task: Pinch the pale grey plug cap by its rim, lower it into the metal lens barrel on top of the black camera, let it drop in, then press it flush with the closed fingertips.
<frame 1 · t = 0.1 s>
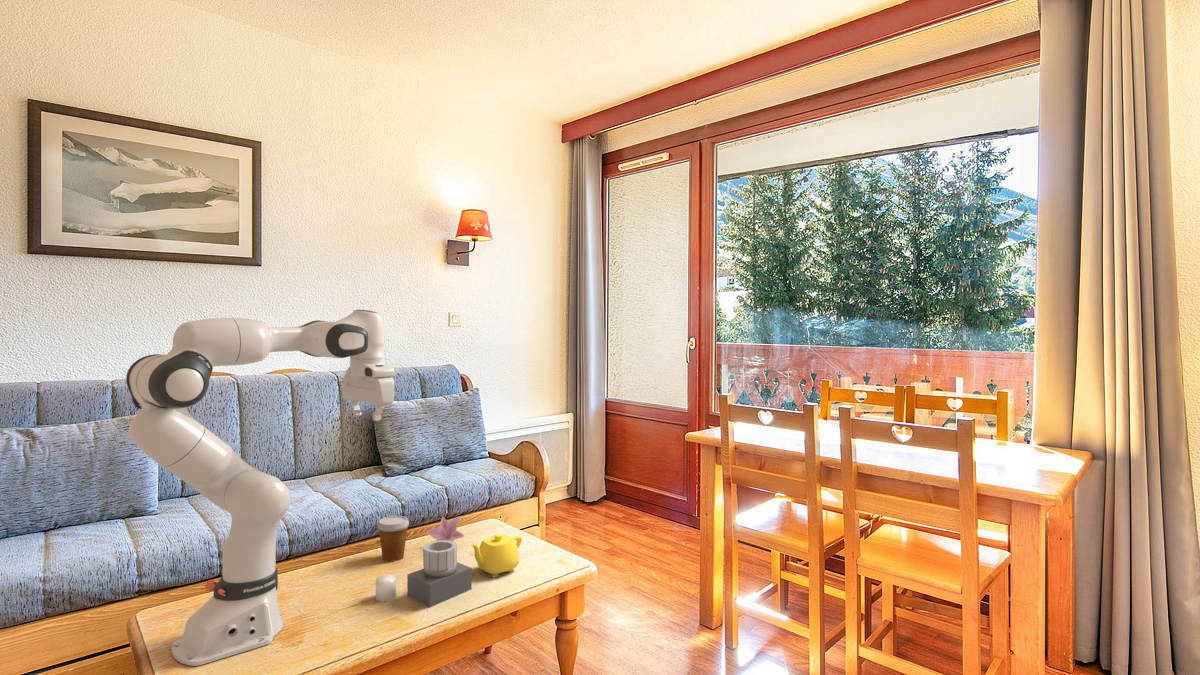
hand: (367, 418, 169), 48 cm above the table, tool pointing down, fingers open, 8 cm apart
teapot: (496, 571, 184), on the table
cap: (385, 597, 166), on the table
disposable coffee cup: (393, 558, 192), on the table
lily: (446, 548, 201), on the table
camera: (439, 592, 169), on the table
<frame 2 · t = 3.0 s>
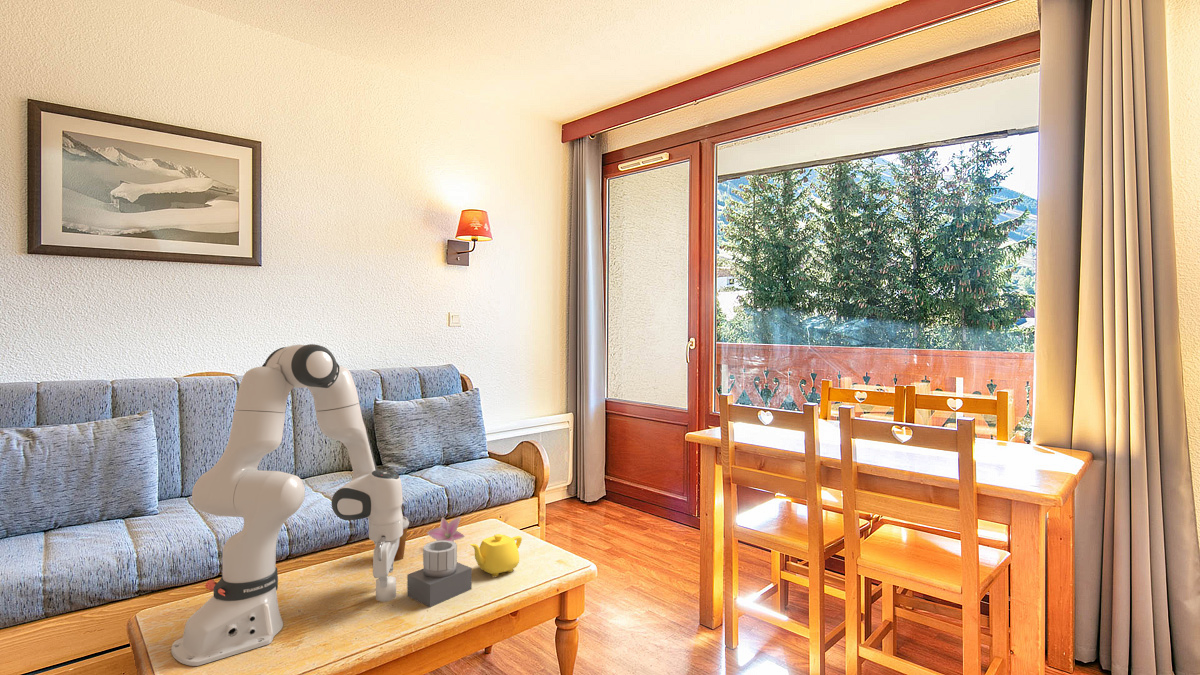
hand: (386, 578, 167), 4 cm above the table, tool pointing down, fingers open, 8 cm apart
cap: (385, 598, 166), on the table, touching gripper
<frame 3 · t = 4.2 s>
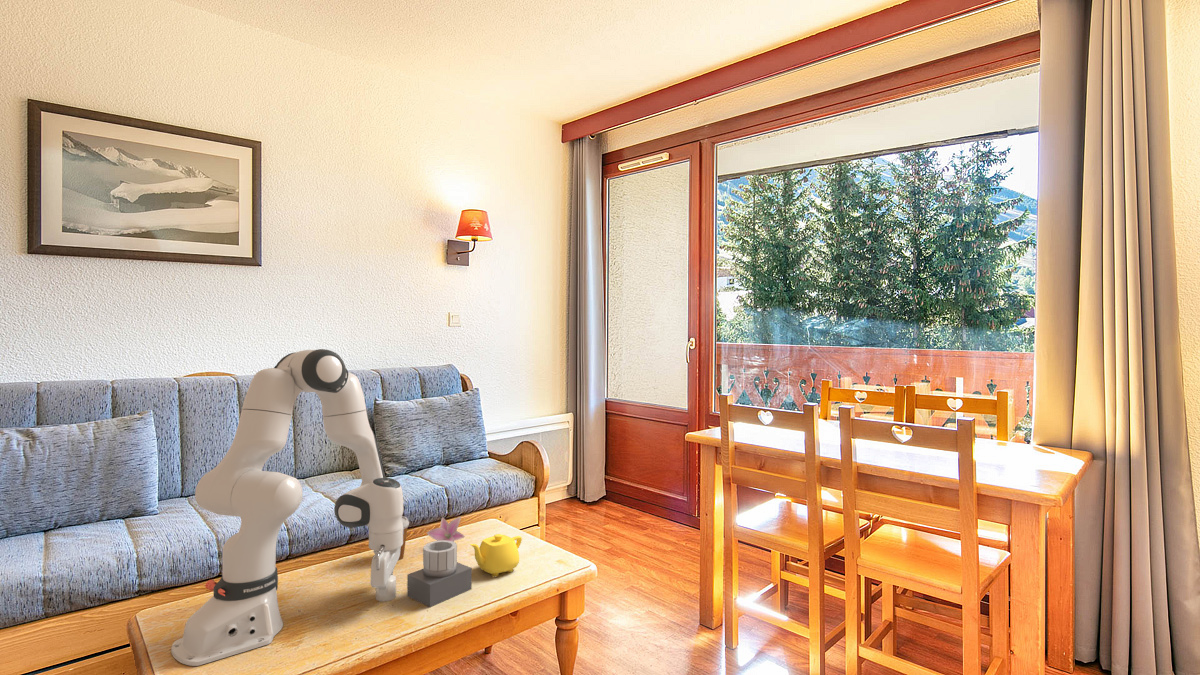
hand: (385, 589, 166), 2 cm above the table, tool pointing down, fingers closed on cap, 5 cm apart
cap: (385, 597, 166), on the table, touching gripper
everything else where it was.
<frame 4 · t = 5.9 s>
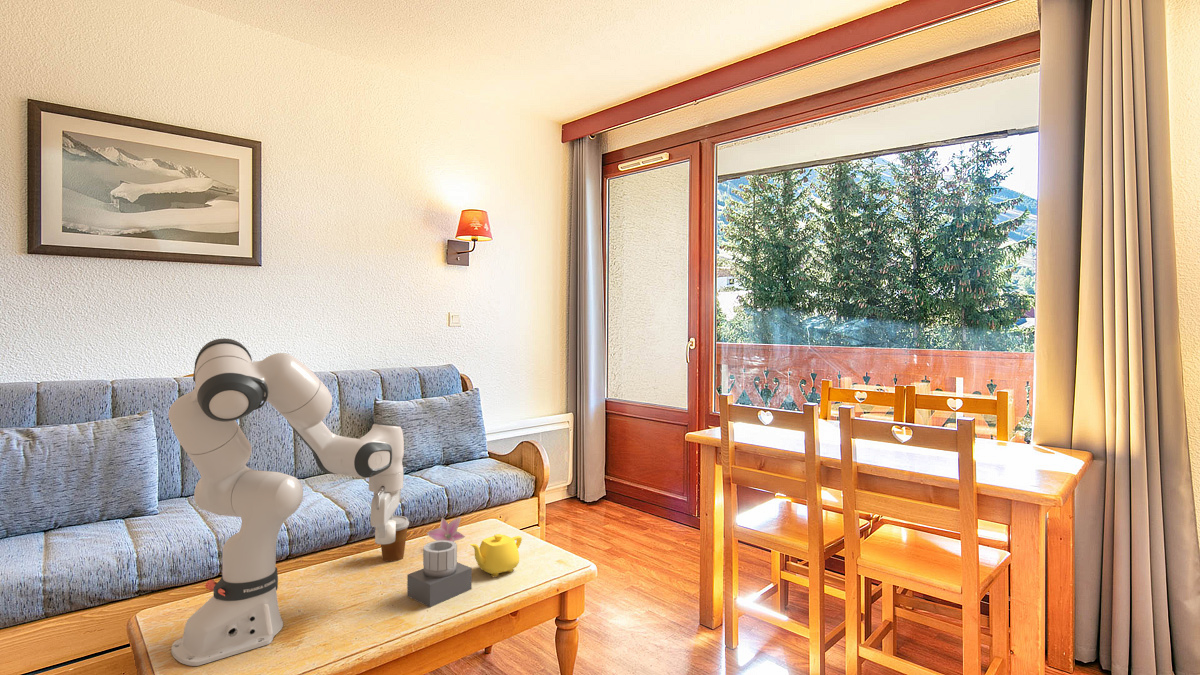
hand: (385, 533, 165), 18 cm above the table, tool pointing down, fingers closed on cap, 5 cm apart
cap: (385, 541, 165), point 15 cm above the table, touching gripper
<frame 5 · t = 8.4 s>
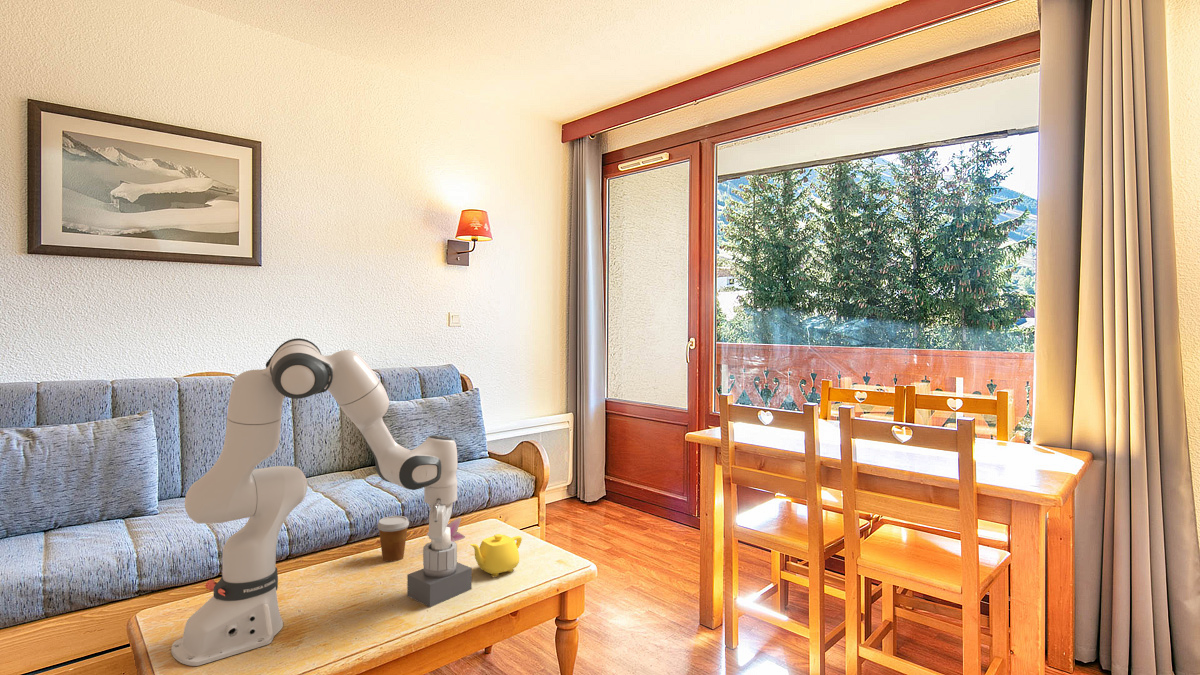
hand: (440, 543, 168), 14 cm above the table, tool pointing down, fingers closed on cap, 5 cm apart
cap: (441, 547, 168), point 13 cm above the table, tilted 6°, touching gripper
when the fingers open (14 cm above the table, at t = 9.2 s): cap drops 5 cm, resting on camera.
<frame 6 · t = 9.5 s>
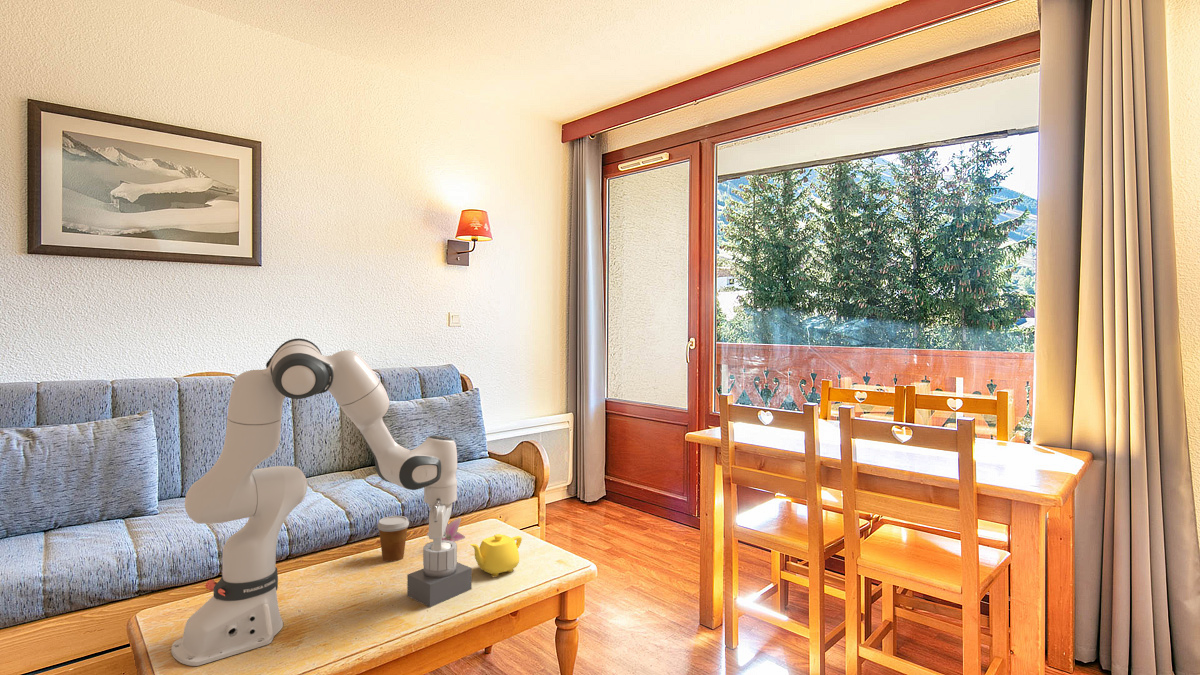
hand: (440, 543, 168), 14 cm above the table, tool pointing down, fingers open, 8 cm apart
cap: (441, 563, 169), point 8 cm above the table, touching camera
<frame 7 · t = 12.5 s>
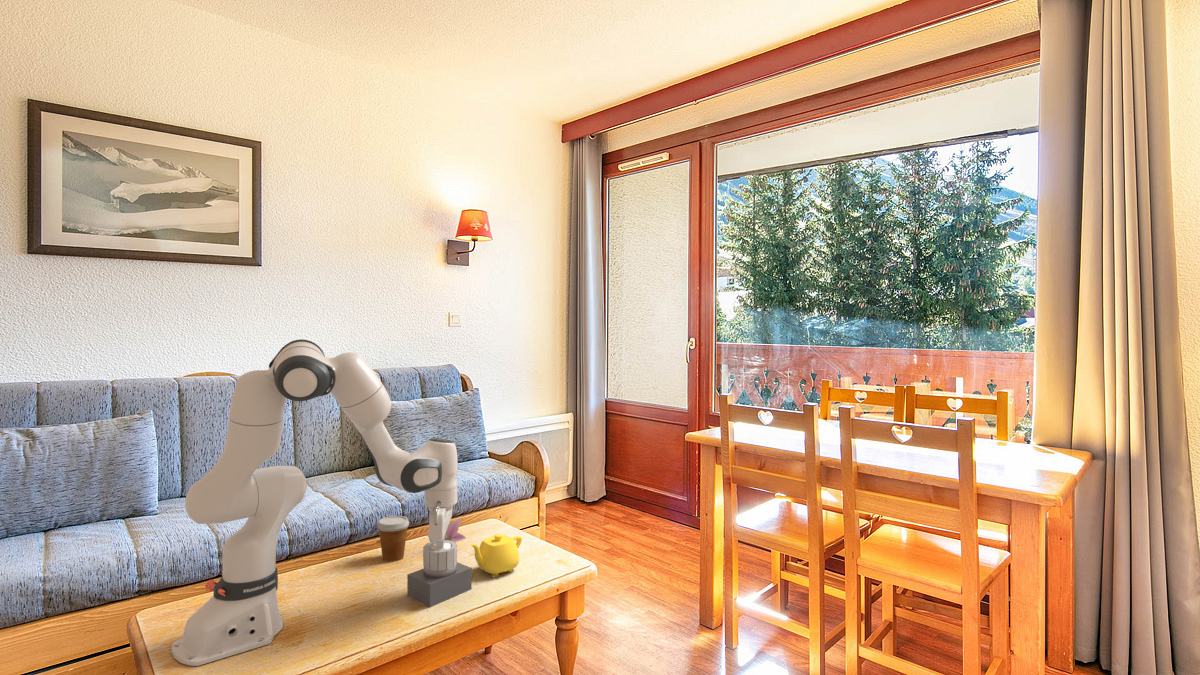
hand: (440, 546, 168), 13 cm above the table, tool pointing down, fingers closed, pressing on cap
cap: (441, 563, 169), point 8 cm above the table, touching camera, gripper
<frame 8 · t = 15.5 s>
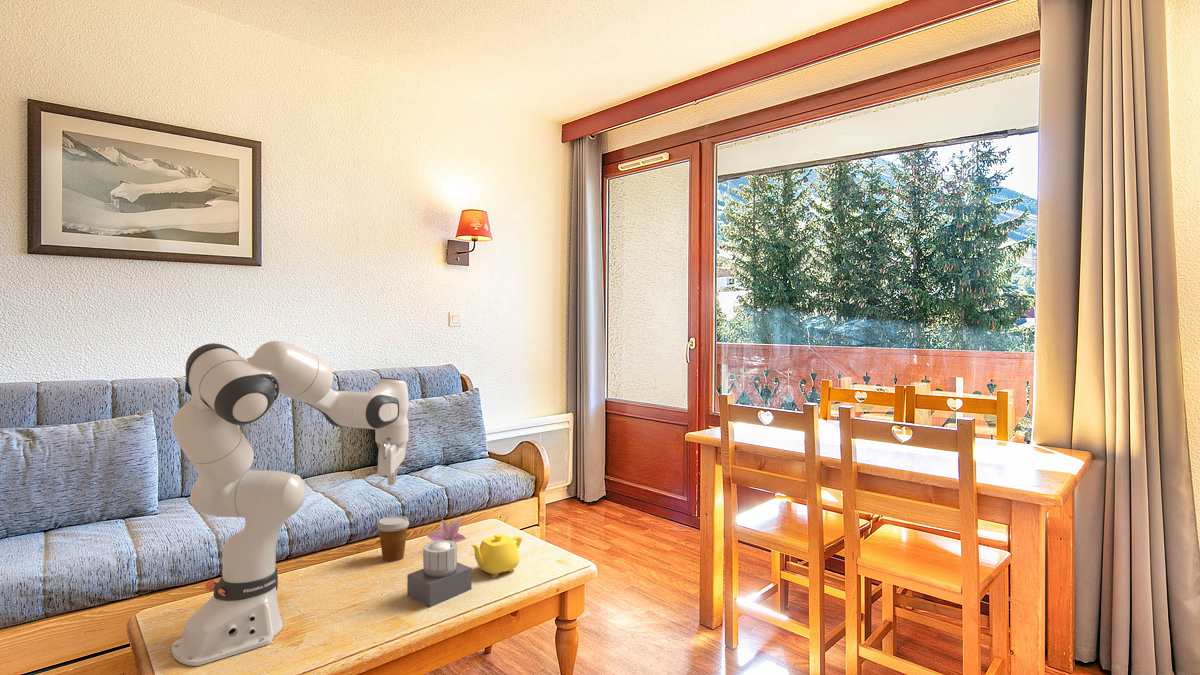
hand: (391, 483, 172), 29 cm above the table, tool pointing down, fingers closed
cap: (441, 563, 169), point 8 cm above the table, touching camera
at the end: cap 0.3 cm off-centre on the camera, point 8.1 cm above the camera's base; cap tilted 1°; the gripper is holding nothing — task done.
